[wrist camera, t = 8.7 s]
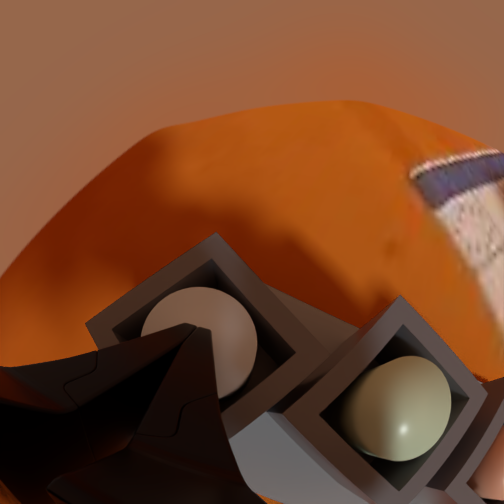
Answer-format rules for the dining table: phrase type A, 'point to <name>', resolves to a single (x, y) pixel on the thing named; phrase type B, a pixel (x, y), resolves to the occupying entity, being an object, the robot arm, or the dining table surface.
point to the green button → (393, 409)
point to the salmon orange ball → (490, 471)
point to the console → (321, 390)
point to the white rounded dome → (213, 332)
